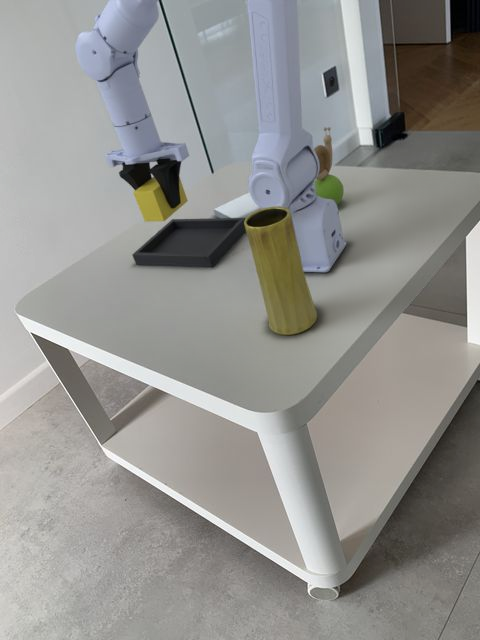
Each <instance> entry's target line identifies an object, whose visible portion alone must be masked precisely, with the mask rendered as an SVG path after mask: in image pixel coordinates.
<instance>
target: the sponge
mask: <svg viewBox="0 0 480 640" xmlns="http://www.w3.org/2000/svg"><path fill="white" fill-rule="evenodd" d="M179 190H180V200H181V203H180V204H179V205H178V206H177V207H176V208H171V207H170V206H169V204H168V202H167V200H166V198H165V195H164V193H163V191H162V189H161V187H160V185H159V183H158V182H157V180H156V179H155V177H154V176H152V178H151V179H150V180H149V181H147V182H146V183H145V184H143V185H142V186H141V187H139V188H138V189H137V190H134V191H133V192H132V193H133V196H134V199H135V201H136V203H137V205H138V208H139V210H140V213H141V215H142V218H143V221H144V222H147V223H148V222H166V221H167V220H168V219H169V218H170V217H171V216H173V214H175V213H176V212H177V211H178V210H179V209H181V208H182V206H184V205H185V204H186V203H187V202H188V197H187V195H186V191H185V189H184V186H183V184H182V180H181V177H180V176H179Z"/></svg>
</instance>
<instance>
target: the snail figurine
mask: <svg viewBox="0 0 480 640" xmlns="http://www.w3.org/2000/svg"><path fill="white" fill-rule="evenodd" d="M331 130H332V129H331V127H330V126H328V127H326V126H324V127H323V131H324V132H327V131H328V133H329V134H327V133H325V135H324V137H323V143H324V145H321V144H319V145H317V146H315V147H313V148H314V150H315V153H316V155H317V157H318V159H319V164H320V169H319V174H318V176H317V178H316V179H315V180H314V183H315V188H316V189H315V192H316V195H317V196H319V197H322V198H325V199H332V200H334V201H335V203H336V204H337V205H339V203H341V201H342V200H343V197H344V192H345V191H344V185H343V182H342V181H341V180H340V179H339V178H338V177H337V176H336V175H334V174H330V172H331V169H332V167H333V146H332V139H333V137H332V136H331Z"/></svg>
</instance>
